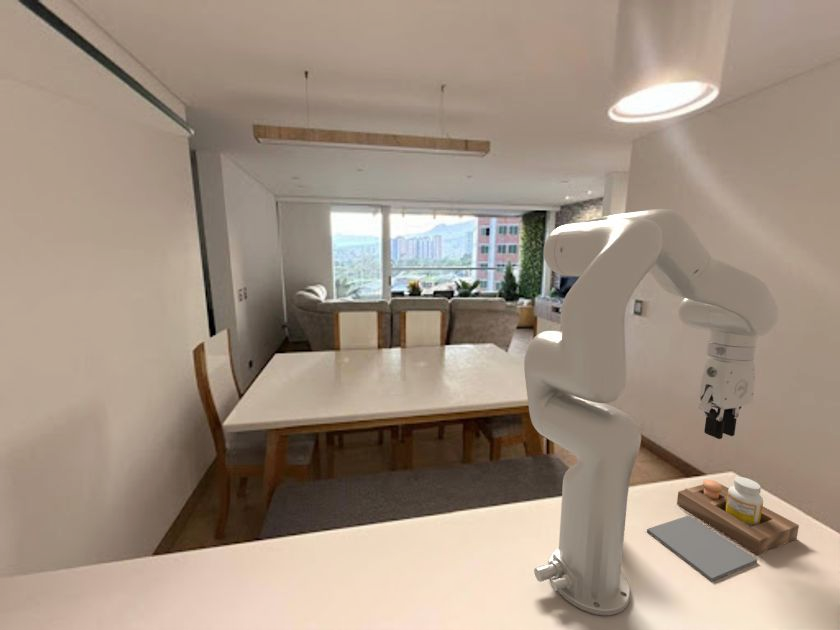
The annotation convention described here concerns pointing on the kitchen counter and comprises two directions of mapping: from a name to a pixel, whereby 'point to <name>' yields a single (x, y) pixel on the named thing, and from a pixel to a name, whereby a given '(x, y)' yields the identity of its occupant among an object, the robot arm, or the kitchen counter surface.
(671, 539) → the pad
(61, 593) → the kitchen counter surface
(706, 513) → the housing
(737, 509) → the supplement bottle
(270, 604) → the kitchen counter surface
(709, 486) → the peach rounded piece
